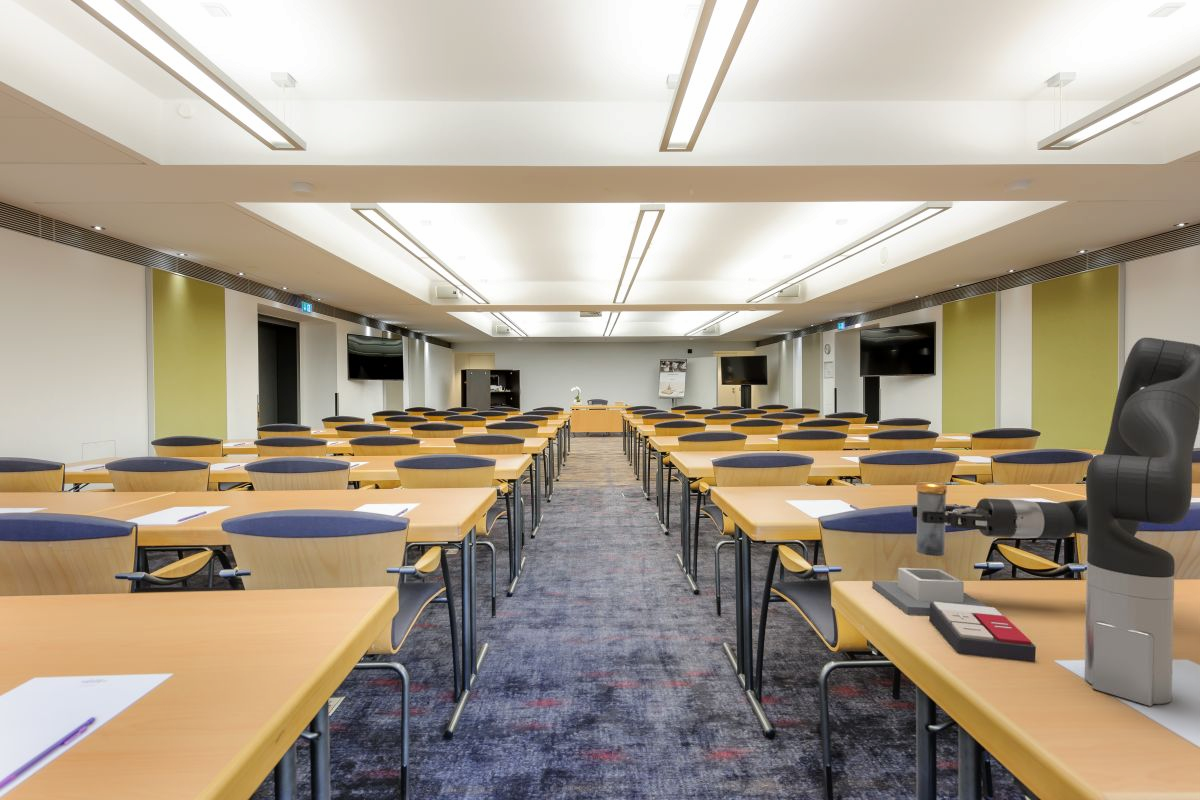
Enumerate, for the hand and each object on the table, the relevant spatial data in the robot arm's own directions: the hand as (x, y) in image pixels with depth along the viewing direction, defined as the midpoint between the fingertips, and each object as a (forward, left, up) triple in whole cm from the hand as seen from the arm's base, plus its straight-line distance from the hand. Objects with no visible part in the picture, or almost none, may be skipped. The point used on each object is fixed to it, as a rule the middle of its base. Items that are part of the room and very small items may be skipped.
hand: (917, 514), depth 118 cm
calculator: (-12, -15, -18) cm, 26 cm away
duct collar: (+2, -2, -18) cm, 18 cm away
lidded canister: (+2, -2, -8) cm, 8 cm away
